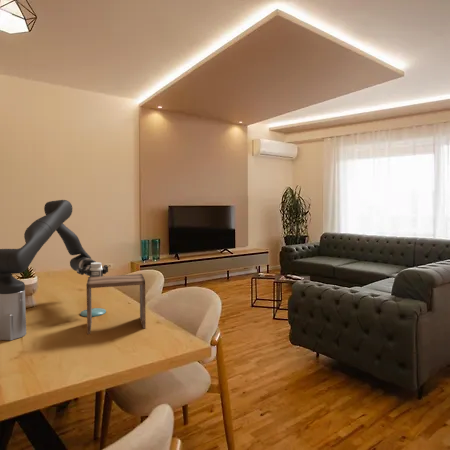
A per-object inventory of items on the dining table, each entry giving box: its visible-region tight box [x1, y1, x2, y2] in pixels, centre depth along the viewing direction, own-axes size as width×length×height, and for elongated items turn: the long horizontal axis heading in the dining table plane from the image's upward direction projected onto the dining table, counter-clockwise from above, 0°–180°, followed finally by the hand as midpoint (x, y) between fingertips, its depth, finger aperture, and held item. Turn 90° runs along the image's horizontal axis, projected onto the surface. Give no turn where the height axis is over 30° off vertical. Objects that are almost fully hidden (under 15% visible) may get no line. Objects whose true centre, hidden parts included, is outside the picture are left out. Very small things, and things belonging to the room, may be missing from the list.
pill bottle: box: [89, 261, 104, 277], centre depth 160 cm, size 6×6×10 cm
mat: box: [79, 307, 107, 318], centre depth 162 cm, size 11×11×1 cm
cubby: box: [85, 273, 147, 335], centre depth 145 cm, size 14×22×20 cm, turn 108°
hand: (97, 272), depth 158 cm, fingers closed on pill bottle, 5 cm apart
